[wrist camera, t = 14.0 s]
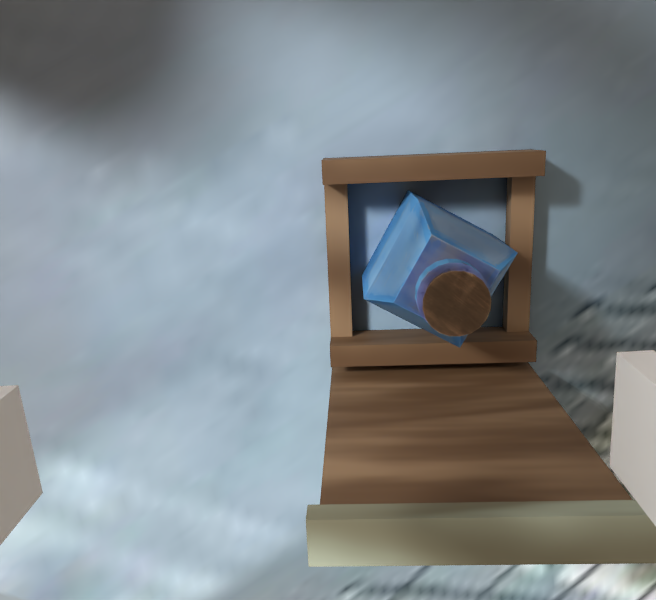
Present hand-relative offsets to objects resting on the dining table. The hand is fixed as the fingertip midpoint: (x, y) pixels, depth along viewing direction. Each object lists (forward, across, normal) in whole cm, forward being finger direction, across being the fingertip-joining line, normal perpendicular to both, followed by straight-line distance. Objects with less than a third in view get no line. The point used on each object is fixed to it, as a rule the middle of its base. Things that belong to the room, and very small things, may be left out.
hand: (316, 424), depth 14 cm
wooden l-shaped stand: (+27, +6, -3) cm, 28 cm away
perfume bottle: (+27, +6, -2) cm, 28 cm away
